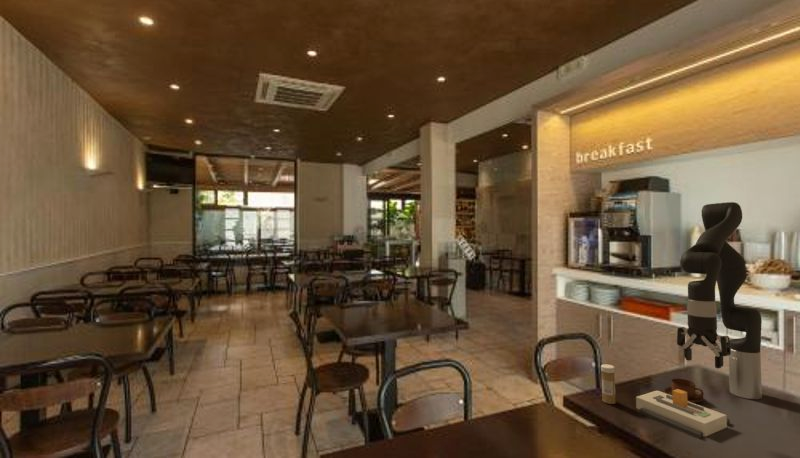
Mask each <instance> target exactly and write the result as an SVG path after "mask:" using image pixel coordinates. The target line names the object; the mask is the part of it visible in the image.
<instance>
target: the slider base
mask: <svg viewBox="0 0 800 458" xmlns="http://www.w3.org/2000/svg"><path fill="white" fill-rule="evenodd" d="M635 401H636V402H635V403H636V405H635V407H636V409H637V410H640V408H644V409H647V410H649V411H652V412H654V413H657V414H659V415H661V416H664V417H666V418H669V419H671V420H674V421H676V422H679V423H681V424H683V425H686V426H688V427H691V428H693V429H696V430H698V431H700V432H703V436H702V437H708V436H710V435H713V434H715V433H717V432H719V431H722V430H724V429H726V428H727V427H728V426H727V419H728V418H727V414H724V413H722V412H719V411H717V410H713V409H712V408H708V407H705V406H702V405H699V404H696V403H691V402H688V406H686V407H681V406H678V405H676V404H673V396H672V395H669V394H666V393H665V392H662V391H660V390H654V391H651V392H647V393H645V394H641V395H637V396H636V397H635Z"/></svg>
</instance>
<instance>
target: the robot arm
mask: <svg viewBox="0 0 800 458" xmlns="http://www.w3.org/2000/svg"><path fill="white" fill-rule="evenodd" d="M701 220H702V224H703V227H704V230H705V231H704V232H702V233H701V234H700V235H699V237H698V238H697V241H696V242H695V244H693V245H692V246H691V247H690V248H688V249H687V250H686V251H684V253H683V254H682V255H681V258H680V261H679V265H680V267H681V269H682V271H683V272H685V273H688V274H698V275H705V277H704V279H700V280H692V281H689V282H688V283H687V309H686V310H687V313H686V315H687V326H688V328H686V327H684V326H683V327H678V328H677V336H676V337H677V338H676V339H677V340H676V344H677V345H678V346H680V347H682V348H683V357H684V359H685V361H688V362H689V361H692V359H693V357H692V356H693V354H692V346H693V345H694V344H695V345H697V346H699V345H700V346H702V347H708V349H709V350H711V352H713V354H714V355H715V356H714V367H715V369H722V367H724V357H728V372H729V374H728V376H729V378H728V379H729V380H728V382H729V393H731V394H732V395H734V396H737V397H738V398H739V397H740V398H743V399H748V400H760V399H762V398H763V397H762V395H763V391H762V387H763V386H762V362H761V361H762V360H761V359H762V357H761V356H762V355H761V347H762V324H763V323H762V322H763V321H762V315H761V313H760V311H759V310H758V309H755V308H752V307H751V308H750V307H742V306H736V305H735V297H736V294H737V293H738V291H739V290H740V288H741V287H742V285H744V283H745V281H746V280H747V277H748V273H747V267H746V263H745V259H744V258H743V256H742V255H741V254H740V253H739V252H738V251H737V250H736V249H735V248H734V247H733V246H732V245H730V243H728V242H727V240H728V239H729V237H730V236H732V234H734V233H735V231H736V230H737V228H739V226H740V225H741V224H742V220H743V211H742V207H741V205H740V204H739V203H737V202H736V201H735V202H733V201H731V202H730V201H728V202H718V203H707V204H704V205H703V206H702V207H701ZM716 284H717V285H716ZM716 286H717V288H718V295H719V304H720V305H719V306H720V314H721V315H720V316H721V321H722V323H723V327H725V328H726V329H727V330H731V331H736V332H737V331H738V332H742V333H745V336H743V337H740V338H732V339H730V336H729V335H719V334H718V332H717V329H718V313H717V304H716ZM686 335H688V337H689V338H688V339H687V340H686ZM717 340H718V341H719V343H720V344H719V343H718V342H717Z"/></svg>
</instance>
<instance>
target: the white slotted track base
mask: <svg viewBox="0 0 800 458" xmlns="http://www.w3.org/2000/svg"><path fill="white" fill-rule="evenodd" d="M638 411H639V414H640V415H643V416H645V417H647V418H650V419H651V420H654V421H657V422H659V423H661V424H664V425H666V426H669V427H671V428H673V429H675V430H677V431H680V432H683V433H685V434H687V435H689V436H692V437H694V438H696V437H697V439H699V440H701V439H702V438H703V437H704V436H703V432H700V431H698V430H696V429H693V428H691V427H688V426H686V425H683V424H681V423H679V422H676V421H674V420H671V419H669V418H666V417H664V416H661V415H659V414H657V413H654V412H652V411H649V410H647V409H644V408H640V409H638ZM730 421H731V420H730V419H729V418H727V427H728V426H730V423H731V422H730Z"/></svg>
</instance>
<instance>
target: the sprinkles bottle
mask: <svg viewBox="0 0 800 458" xmlns="http://www.w3.org/2000/svg"><path fill="white" fill-rule="evenodd" d="M615 369H616V367H615V366H613V365H612V364H607V363H605V364H604V363H603V364H601V365H600V371H601V393H602V399H601V401H602V402H604V404H605V403H606V404H609V405H613V404H616V383H615V371H616V370H615Z"/></svg>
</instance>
